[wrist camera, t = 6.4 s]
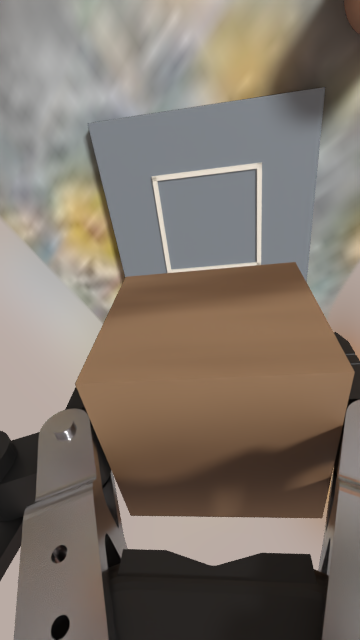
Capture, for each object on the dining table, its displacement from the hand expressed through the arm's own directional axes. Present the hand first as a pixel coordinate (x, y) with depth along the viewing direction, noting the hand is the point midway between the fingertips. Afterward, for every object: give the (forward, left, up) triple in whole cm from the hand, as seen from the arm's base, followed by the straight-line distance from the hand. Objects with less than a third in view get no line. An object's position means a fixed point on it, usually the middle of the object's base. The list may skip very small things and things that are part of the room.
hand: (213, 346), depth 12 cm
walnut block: (0, 0, -1) cm, 1 cm away
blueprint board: (0, 0, -15) cm, 15 cm away
